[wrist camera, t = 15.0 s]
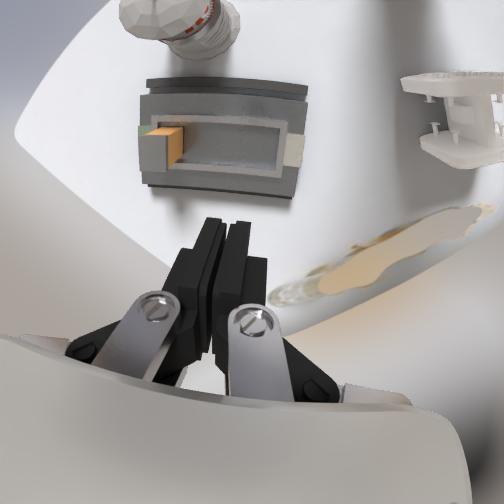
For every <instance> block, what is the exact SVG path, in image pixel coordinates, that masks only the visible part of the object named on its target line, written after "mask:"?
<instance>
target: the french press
mask: <svg viewBox="0 0 504 504" xmlns="http://www.w3.org/2000/svg"><path fill="white" fill-rule="evenodd" d="M119 19H120V21H121V23H122V25H123V26H124V28H125V30H126V31H128V32H129V33H131V34H132V35H134V36H135V37H137V38H142V39H149V40H159V41H160V42H163V43H165V42H166V43H165V44H167V45H168V46H169V48H170V49H171V50H172V51H173V52H174V53H176V54H177V55H179V56H180V57H182V58H186V59H191V60H195V61H196V60H203V59H211V58H213V57H215V56H217V55H219V54H221V53H223V52H225V51H226V50H227V49H228V48H229V47H230V46H231V45H232V44H233V43H234V42H235V40H236V38H237V35H238V33H239V30H240V16H239V14H238V12H237V11H236V9H235V7H234V6H233V4H231V3H230V2H228V1H226V0H121V1H120V4H119ZM162 40H163V41H162ZM165 40H166V41H165ZM164 41H165V42H164Z"/></svg>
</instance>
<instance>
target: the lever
mask: <svg viewBox="0 0 504 504" xmlns="http://www.w3.org/2000/svg"><path fill="white" fill-rule="evenodd" d="M138 139H139V165H140V171H151V172H167V171H168V168H169V167H170V166H171V165H172V164H174V163H175V162H176V161H177V160H178V159H179V158H180V157H182V156H183V127H161V128H158V129H156V130H154V131H152V132H150V133H147V134H145V135H140V136H138Z"/></svg>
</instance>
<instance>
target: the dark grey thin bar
mask: <svg viewBox="0 0 504 504" xmlns="http://www.w3.org/2000/svg"><path fill="white" fill-rule="evenodd" d="M148 187H163V188H179V189H194V190H206V191H218V192H229V193H239V194H249V195H259V196H268V197H276V198H284V199H292V197H290V196H282V195H274V194H265V193H256V192H246V191H236V190H226V189H214V188H202V187H188V186H173V185H155V184H148Z"/></svg>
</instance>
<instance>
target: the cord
mask: <svg viewBox="0 0 504 504" xmlns="http://www.w3.org/2000/svg"><path fill="white" fill-rule="evenodd" d="M172 86H218V87H239V88H253V89H264V90H273V91H281V92H289V93H296V94H303V95H307V92H308V86H305V85H299V84H292V83H285V82H277V81H267V80H257V79H244V78H225V77H175V78H156V79H147V83H146V88H152V87H172Z"/></svg>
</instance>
